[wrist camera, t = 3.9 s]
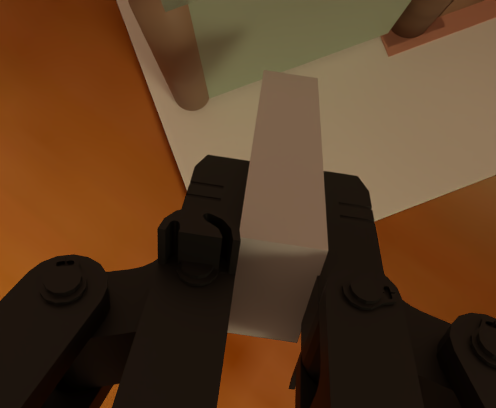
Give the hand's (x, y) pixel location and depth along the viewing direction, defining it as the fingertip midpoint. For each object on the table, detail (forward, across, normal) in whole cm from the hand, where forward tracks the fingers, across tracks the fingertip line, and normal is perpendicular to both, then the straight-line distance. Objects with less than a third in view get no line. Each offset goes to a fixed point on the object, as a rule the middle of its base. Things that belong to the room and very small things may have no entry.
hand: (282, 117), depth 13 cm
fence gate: (+8, 0, -1) cm, 8 cm away
